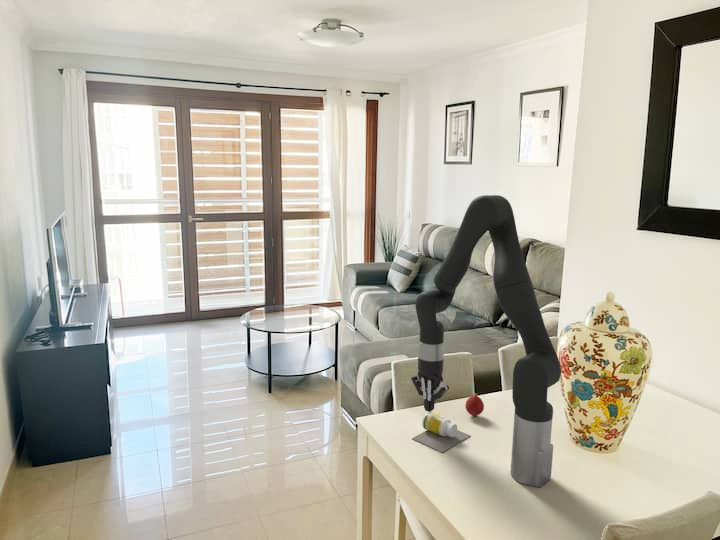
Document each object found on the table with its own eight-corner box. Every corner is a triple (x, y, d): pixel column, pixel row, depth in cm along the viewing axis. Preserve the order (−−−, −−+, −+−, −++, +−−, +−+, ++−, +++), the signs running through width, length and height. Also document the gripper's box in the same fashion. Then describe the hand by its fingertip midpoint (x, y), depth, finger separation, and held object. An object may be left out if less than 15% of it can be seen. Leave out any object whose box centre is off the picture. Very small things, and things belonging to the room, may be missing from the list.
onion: (461, 414, 171) (462, 391, 170) (475, 411, 174) (476, 388, 172) (472, 422, 166) (473, 398, 165) (486, 418, 169) (488, 395, 167)
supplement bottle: (423, 432, 160) (449, 443, 153) (420, 418, 158) (447, 429, 151) (433, 421, 164) (460, 432, 157) (430, 407, 161) (457, 418, 155)
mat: (470, 436, 157) (470, 435, 157) (442, 453, 147) (442, 452, 147) (440, 423, 165) (440, 423, 165) (412, 439, 155) (412, 438, 155)
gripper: (456, 358, 153) (454, 413, 156) (421, 347, 162) (419, 400, 166) (441, 364, 148) (439, 421, 151) (405, 353, 157) (404, 407, 160)
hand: (428, 410), depth 158 cm, fingers closed
